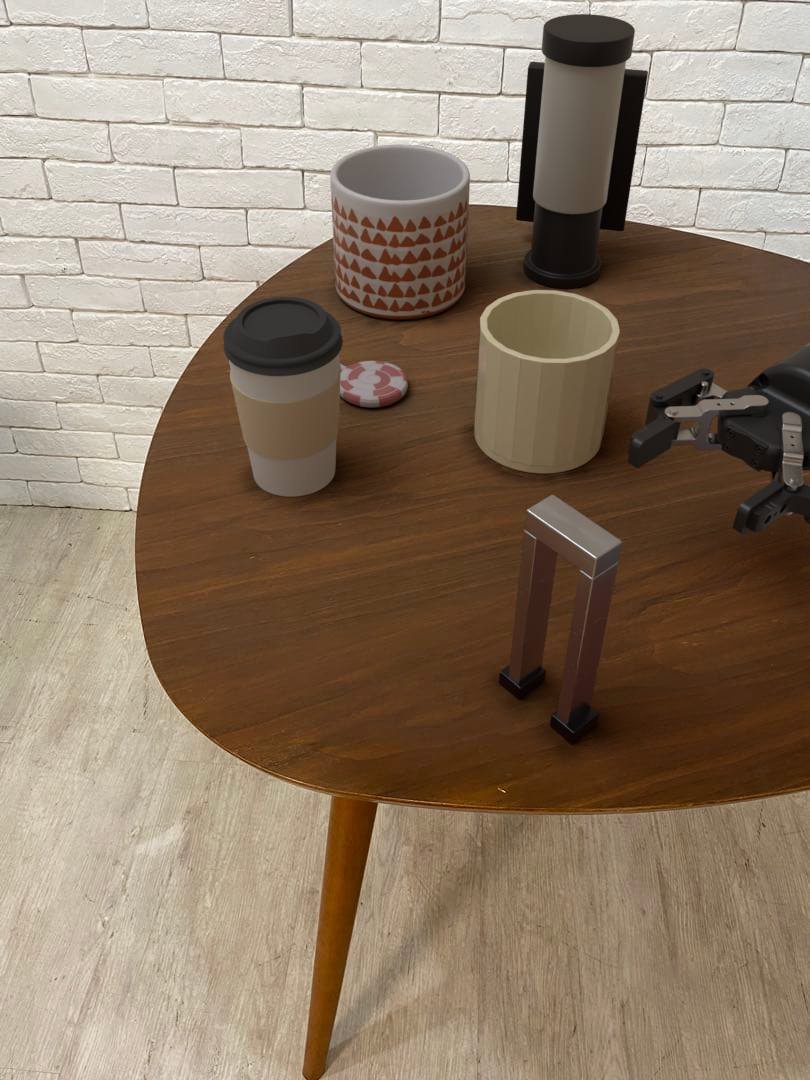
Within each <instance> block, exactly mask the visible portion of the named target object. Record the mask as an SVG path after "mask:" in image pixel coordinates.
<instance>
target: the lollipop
mask: <svg viewBox="0 0 810 1080" xmlns="http://www.w3.org/2000/svg"><path fill="white" fill-rule="evenodd" d="M339 364H340V367H341V376H340V397H341V399H344V400H345V401H346V402H347V403H350V404H351V405H354V406H357V407H361V408H383V407H385V406H386V407H387V406H389V405H393V404H394V403H397V402H398V401H400V400H401V399H402V398H403V397H404V396H405V395H406V393H407V390H408V388H409V380H408V376H407V375H406V373H405V371H404V370H403V369H401V368H400V367H399V366H397V365H396V364H394V363H390V362H387V361H382V360H363V361H359V362H355V363H353V364H350V365H348V366H346V365H343V364H342V363H340V362H339Z"/></svg>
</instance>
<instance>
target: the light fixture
mask: <svg viewBox="0 0 810 1080" xmlns="http://www.w3.org/2000/svg"><path fill="white" fill-rule="evenodd" d="M542 27H543V28H542V39H541V53H542V54H543V56H544V62H543V61H542V62H541V61H530V62H529V63H528V67H527V73H526V75H527V76H526V85H525V86H526V88H525V100H524V113H523V123H522V124H523V125H522V135H521V137H522V139H521V151H520V162H519V163H520V164H519V173H518V174H519V176H518V187H517V201H516V212H515V213H516V214H515V220H516V221H519V222H526V223H527V222H528V223H532V236H531V247H530V249H529V250H527V252H525V255H524V257H523V272H524V274H525V275H526V276H527V278H529V279H530V280H532V281H533V282H535V283H537V284H539V285H542V286H545V287H549V288H555V289H577V288H583V287H585V286H588V285H590V284H592V283H594V282H595V281H596V280H597V279H598V278H599V276H600V274H601V268H602V261H601V260H602V259H601V258H600V256H599V255H598V253H597V251H598V244H599V238H600V230H603V231H614V232H624V230H625V227H626V226H625V225H626V220H627V219H626V218H627V212H628V207H629V206H628V205H629V201H630V200H629V199H630V193H631V186H632V180H633V173H634V167H635V160H636V156H637V149H638V142H639V141H638V140H639V135H640V128H641V123H642V122H641V121H642V115H643V109H644V103H645V97H646V96H645V95H646V89H647V83H648V76H649V71H648V70H645V69H644V70H643V69H632V68H626V67H627V66H626V65H627V61H628V60H630V59H631V57H632V55H633V48H634V39H635V33H636V30H635V29H636V28H635V27H634V25H632V24H631V23H629V22H628V21H626V20H623V19H620V18H617V17H613V16H608V15H601V14H590V13H589V14H588V13H579V14H577V13H576V14H575V13H574V14H566V15H565V14H564V15H560V16H556V17H553V18H550V19H548V20H547V21H546V22H544V24H543V26H542Z"/></svg>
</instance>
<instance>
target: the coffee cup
mask: <svg viewBox="0 0 810 1080" xmlns="http://www.w3.org/2000/svg"><path fill="white" fill-rule="evenodd" d="M222 339H223V353H224V355H225V357H226V358H227V360H228V364H229V368H230V372H229V379H230V383H231V388H232V392H233V397H234V401H235V406H236V411H237V416H238V419H239V420H238V421H239V424H240V429H241V430H240V431H241V433H242V439H243V442H244V443H245V445H246V447H247V452H248V457H249V461H250V466H251V471H252V475H253V479H254V482H255V483H256V485H257V486H258V487H259V488H260V489H262V490H263V491H264V492H267V493H269V494H271V495H274V496H279V497H286V498H287V497H288V498H289V497H290V498H293V497H295V498H296V497H303V496H307V495H308V496H309V495H311V494H314V493H316V492H319V491H321V490H322V489H324V488H325V487H327V485H329V484H330V483H331V481H332V480H333V478H334V477H335V474H336V462H337V437H338V434H339V427H340V426H339V421H340V403H341V402H340V399H341V398H340V397H341V395H340V376H341V372H342V371H341V367H340V364H341V363H340V354H341V353H340V352H341V351H342V348H343V344H344V340H343V335H342V327H341V324H340V323H339V321H338V320H337V319H336V317H334V316H333V315H332V314H331V313H329V312H328V311H326V310H325V309H324V308H323V307H322V306H321V305H320V304H318V303H317V302H314V301H312V300H309V299H305V298H303V297H296V296H278V297H277V296H276V297H270V298H265V299H260V300H258V301H255V302H253V303H250V304H249V305H247V306H245V307H244V308H243V309H242V310H241V311H240V312H239V313H238V314H237V316H236V317H235V318H233V319H232V320H231V321H230V322H229V323H228V325H227V326H226V328H225V329H224V330H223V336H222ZM339 363H340V364H339Z"/></svg>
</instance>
